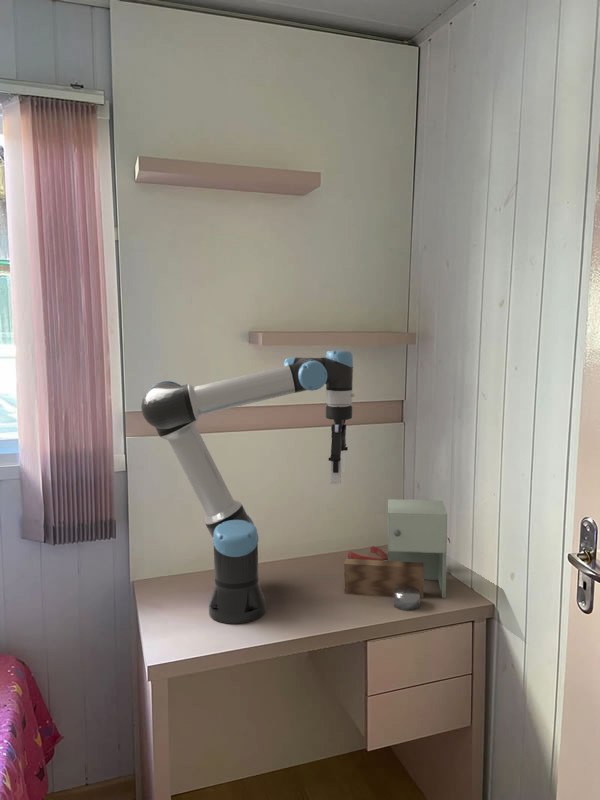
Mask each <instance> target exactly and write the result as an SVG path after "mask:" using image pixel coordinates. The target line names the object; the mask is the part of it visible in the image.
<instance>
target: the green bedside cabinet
mask: <svg viewBox="0 0 600 800" xmlns="http://www.w3.org/2000/svg"><path fill="white" fill-rule="evenodd" d="M447 538H448V513H447V510H446V507H445V503H444V500H439V499H438V500H434V499H433V500H431V499H429V500H428V499H394V498H392V499H387V557H388V561H400V562H420V563H423V565H424V577H423V580H429V581H430V580H432V581H433V580H434V581H438V585H439V588H440V593H441V598H445V599H446V598H447V593H446V592H447V547H448V544H447V543H448V539H447Z"/></svg>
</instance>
